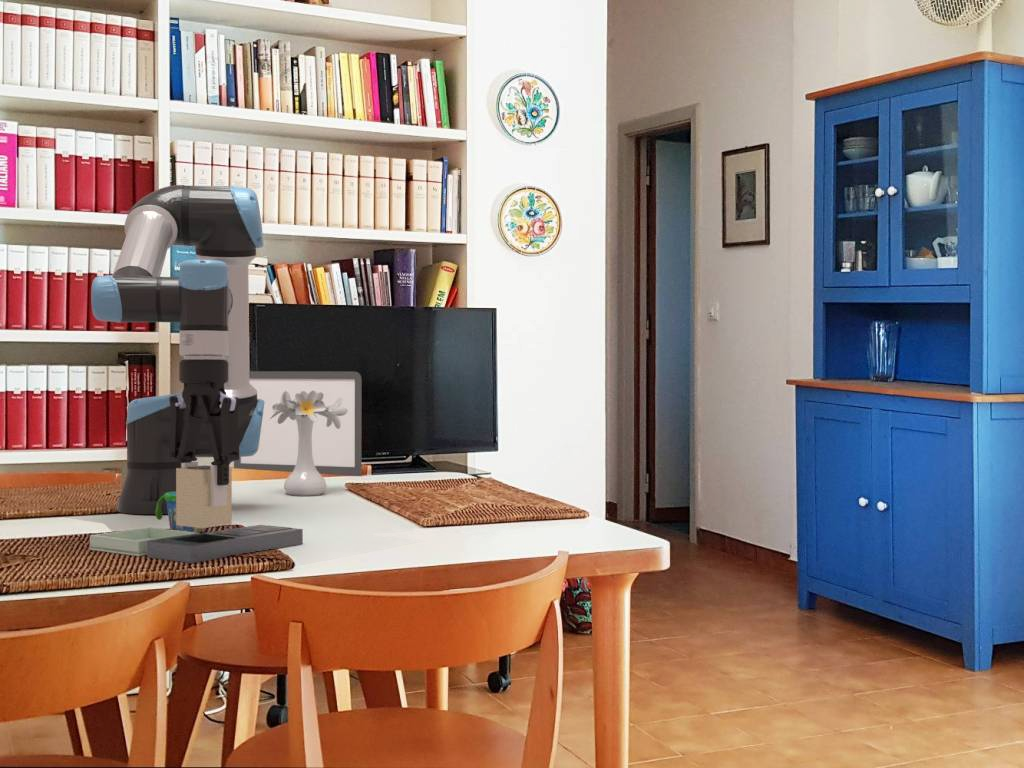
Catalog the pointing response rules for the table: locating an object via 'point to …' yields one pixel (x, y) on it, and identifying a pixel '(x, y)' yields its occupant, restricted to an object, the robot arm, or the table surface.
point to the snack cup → (173, 513)
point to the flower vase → (306, 438)
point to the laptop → (329, 444)
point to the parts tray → (131, 540)
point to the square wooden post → (200, 499)
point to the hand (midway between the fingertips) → (204, 504)
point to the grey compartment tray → (223, 543)
